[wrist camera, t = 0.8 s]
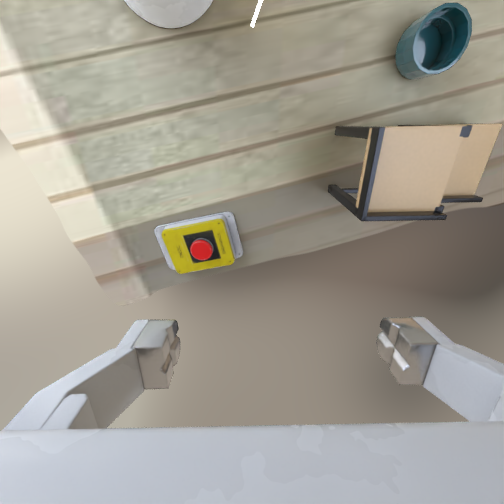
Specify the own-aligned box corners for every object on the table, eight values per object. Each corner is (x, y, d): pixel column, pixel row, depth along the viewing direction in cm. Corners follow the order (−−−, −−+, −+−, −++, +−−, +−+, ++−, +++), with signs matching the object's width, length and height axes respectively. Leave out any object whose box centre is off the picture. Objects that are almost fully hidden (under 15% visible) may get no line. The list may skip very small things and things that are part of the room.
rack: (335, 126, 38) (379, 127, 25) (467, 123, 37) (581, 123, 24) (327, 191, 42) (361, 221, 29) (444, 189, 42) (530, 218, 29)
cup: (400, 18, 32) (422, 3, 28) (451, 17, 32) (481, 1, 28) (388, 80, 35) (406, 74, 31) (435, 79, 35) (459, 73, 31)
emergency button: (243, 266, 44) (164, 281, 45) (244, 255, 48) (171, 268, 49) (230, 218, 40) (144, 236, 41) (232, 210, 44) (153, 226, 45)
